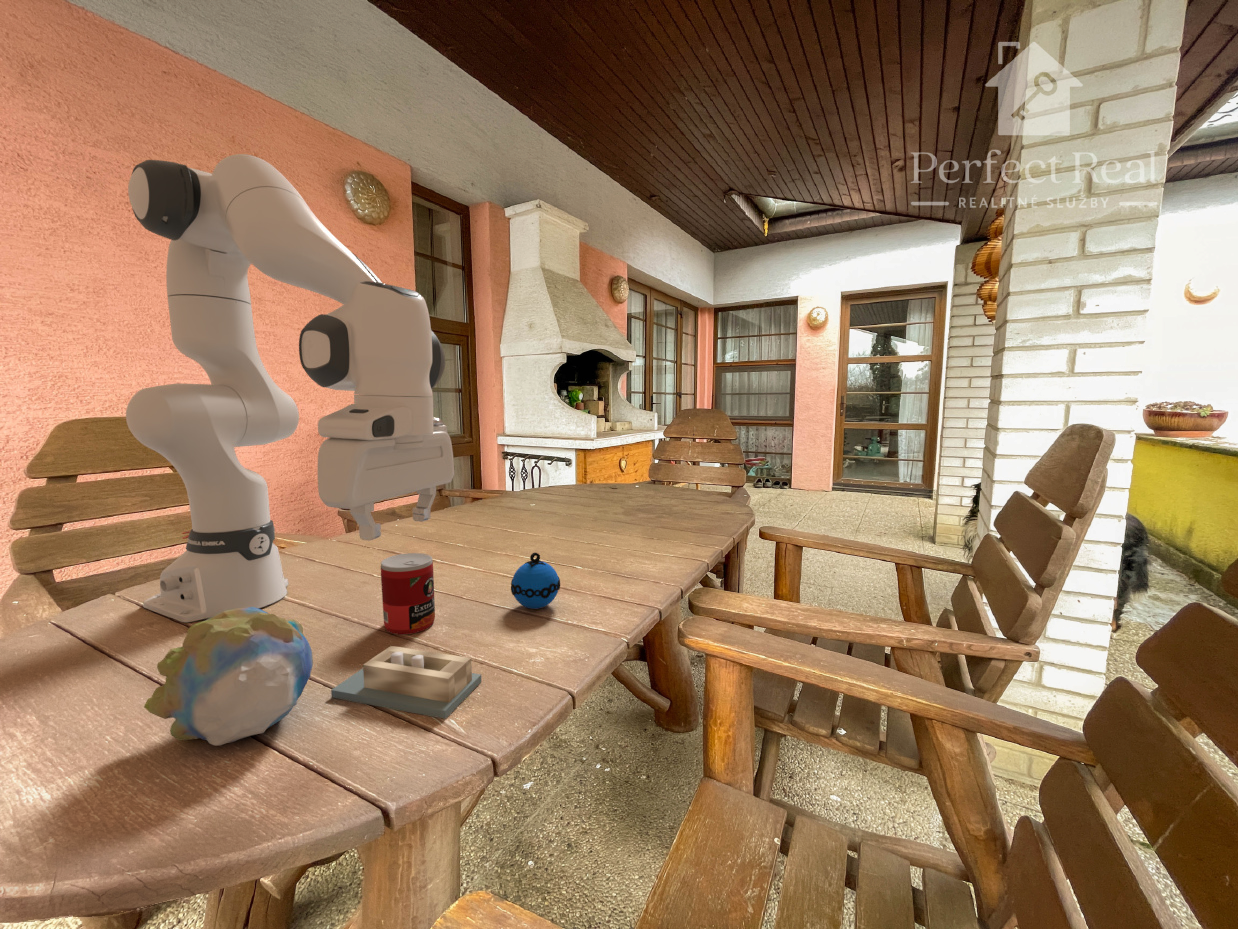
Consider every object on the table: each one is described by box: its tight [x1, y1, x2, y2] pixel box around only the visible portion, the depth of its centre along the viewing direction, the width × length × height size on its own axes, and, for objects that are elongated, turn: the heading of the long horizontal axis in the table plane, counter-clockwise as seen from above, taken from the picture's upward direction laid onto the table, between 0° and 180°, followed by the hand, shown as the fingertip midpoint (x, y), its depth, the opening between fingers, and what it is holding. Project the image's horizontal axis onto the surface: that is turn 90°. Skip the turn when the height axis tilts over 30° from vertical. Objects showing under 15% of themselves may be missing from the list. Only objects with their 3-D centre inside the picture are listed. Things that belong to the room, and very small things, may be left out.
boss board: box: [330, 652, 483, 720], centre depth 63 cm, size 16×8×4 cm, turn 75°
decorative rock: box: [143, 607, 314, 747], centre depth 56 cm, size 14×16×15 cm
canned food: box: [380, 552, 436, 635], centre depth 81 cm, size 8×8×11 cm
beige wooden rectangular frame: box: [362, 645, 473, 703], centre depth 63 cm, size 12×5×3 cm, turn 75°
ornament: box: [510, 552, 561, 610], centre depth 88 cm, size 9×9×10 cm
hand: (397, 528), depth 63 cm, fingers open, 8 cm apart
